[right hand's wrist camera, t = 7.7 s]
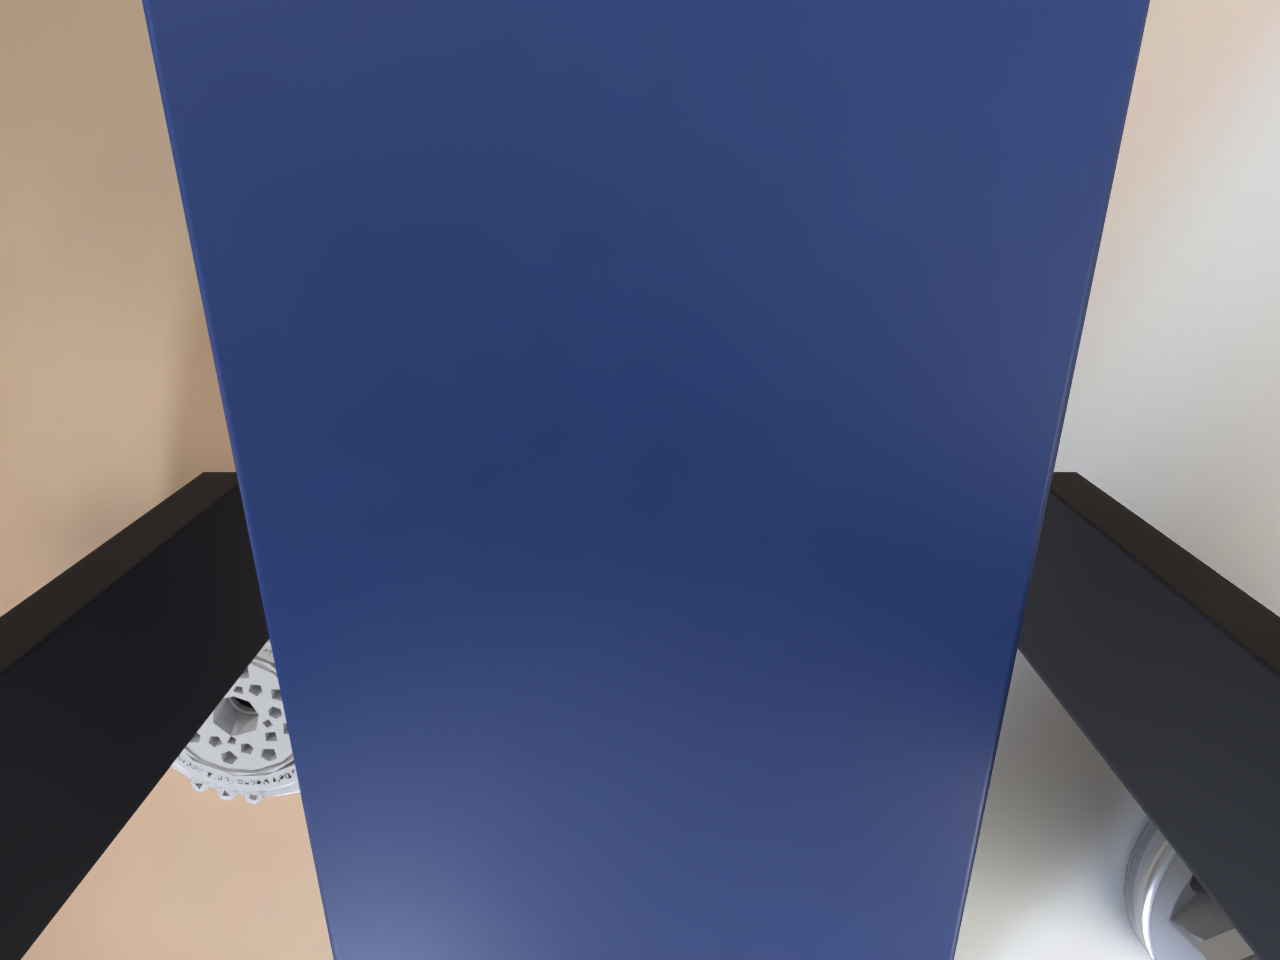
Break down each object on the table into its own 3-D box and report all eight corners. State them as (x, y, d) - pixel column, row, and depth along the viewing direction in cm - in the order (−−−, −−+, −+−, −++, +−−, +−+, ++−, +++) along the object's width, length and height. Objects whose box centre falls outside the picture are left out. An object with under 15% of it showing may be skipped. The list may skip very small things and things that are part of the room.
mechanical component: (401, 772, 32) (453, 557, 28) (365, 863, 28) (421, 625, 24) (143, 712, 31) (164, 481, 27) (66, 798, 27) (79, 538, 23)
